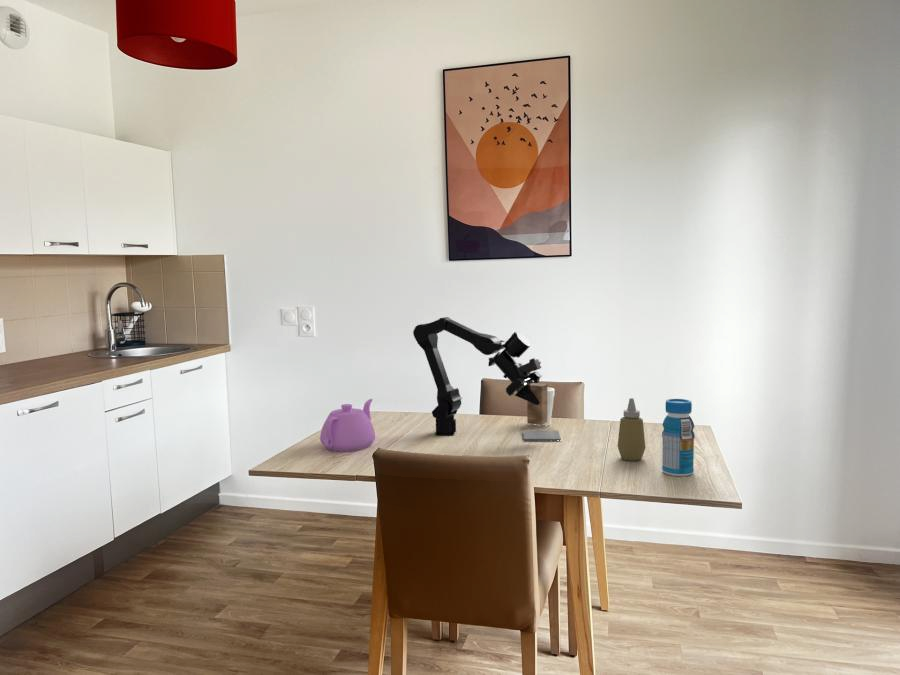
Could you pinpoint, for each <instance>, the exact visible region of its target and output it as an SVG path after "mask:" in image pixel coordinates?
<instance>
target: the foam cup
mask: <svg viewBox="0 0 900 675" xmlns="http://www.w3.org/2000/svg"><path fill="white" fill-rule="evenodd" d="M555 390H556V389H555V388H553V387H548V386H547V422H546V423H544V424H543V425H547V424H550V425H551V421H552V414H553V407H554V401H555V400H554V399H555V398H554V397H555V395H556V394H555ZM536 425H539V424H536Z"/></svg>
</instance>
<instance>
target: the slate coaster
mask: <svg viewBox="0 0 900 675" xmlns="http://www.w3.org/2000/svg"><path fill="white" fill-rule="evenodd" d="M522 435H523V441H524V442H561V441H560V440H562V439H561V435H560V432H559V430H554V429H553V430H552V429H551V430H549V429H548V430H545V429H544V430H539V429H538V430H531V429H530V430H528V429H527V430H526V429H525V430H523V431H522ZM551 440H552V441H551ZM557 440H559V441H557Z"/></svg>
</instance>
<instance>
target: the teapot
mask: <svg viewBox="0 0 900 675" xmlns="http://www.w3.org/2000/svg"><path fill="white" fill-rule="evenodd" d="M372 402H373V398H369V399H368V400H366V401H365V403H364V405H363V409H361V408H355V407H354V408H353V404H350V403H346V404H342V405H341V408H339V409H338V408H337V409H334V410H332V411H330V413H329V414H328V416H327V418H326V419H325V421H324V423H323V425H322V427H321V430H320V436H319V441H320V443H321V444H322V446H323V447H324V448H325V449H327V450H328V451H331V452H354V451H356V452H357V451H361V450H365V449H367V448H369V447H371V445H372V444H373V442H374V441H375V439H376V432H375V428H374V426H373V423H372V417H371V411H370V410H371V409H370V408H371V404H372Z"/></svg>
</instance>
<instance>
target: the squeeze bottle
mask: <svg viewBox="0 0 900 675" xmlns="http://www.w3.org/2000/svg"><path fill="white" fill-rule="evenodd" d="M636 407H637V406H636V403H635V398H633V397H632V398H629V399H628V405H627V409H624V410H623V417H621V418H620V420H619V427H618V428H619V429H618V438H617V449H618V453H619V456H620V458H621V459H622V460H625V461H630V462H631V461H632V462H633V461H634V462H636V461H641V460H642V459H643V456H644V454H645V451H646V441H645V440H646V439H645V429H644V419H643V418H641V417H640V414H641V412H640V410H638V409H636Z"/></svg>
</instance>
